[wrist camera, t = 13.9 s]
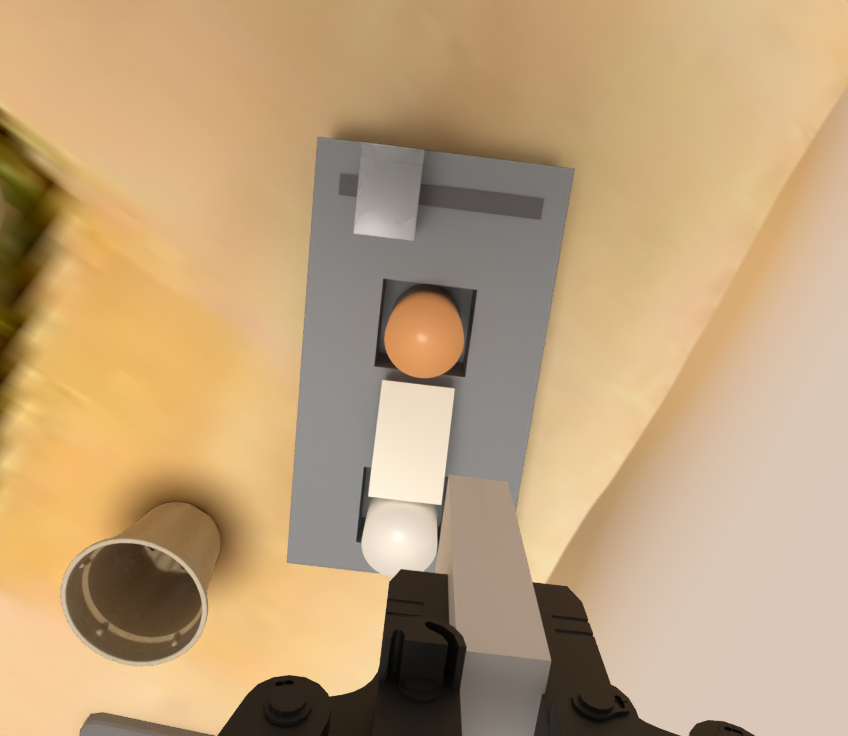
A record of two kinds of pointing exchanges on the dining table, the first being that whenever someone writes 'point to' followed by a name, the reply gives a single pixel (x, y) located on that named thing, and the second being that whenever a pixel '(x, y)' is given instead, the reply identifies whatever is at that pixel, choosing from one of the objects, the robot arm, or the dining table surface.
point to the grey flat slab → (129, 727)
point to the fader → (388, 191)
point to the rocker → (411, 442)
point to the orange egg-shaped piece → (424, 332)
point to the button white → (399, 535)
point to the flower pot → (144, 587)
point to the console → (369, 314)
